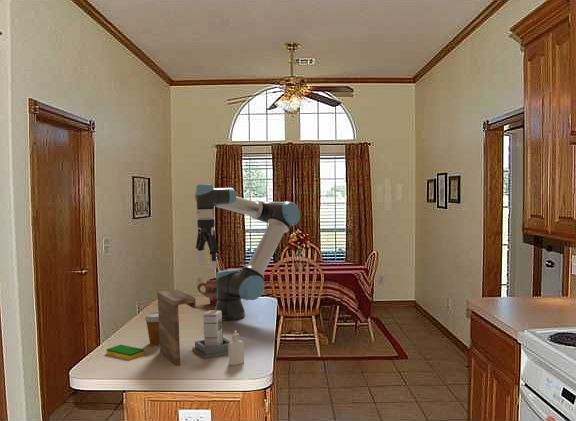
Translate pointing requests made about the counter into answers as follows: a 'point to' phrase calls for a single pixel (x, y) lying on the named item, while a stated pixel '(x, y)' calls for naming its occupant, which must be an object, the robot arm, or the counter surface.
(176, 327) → the brown l-shaped bracket
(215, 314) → the syrup box
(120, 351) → the dish sponge
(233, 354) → the eye dropper bottle
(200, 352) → the socket
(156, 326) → the disposable coffee cup
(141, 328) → the counter surface
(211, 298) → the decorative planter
